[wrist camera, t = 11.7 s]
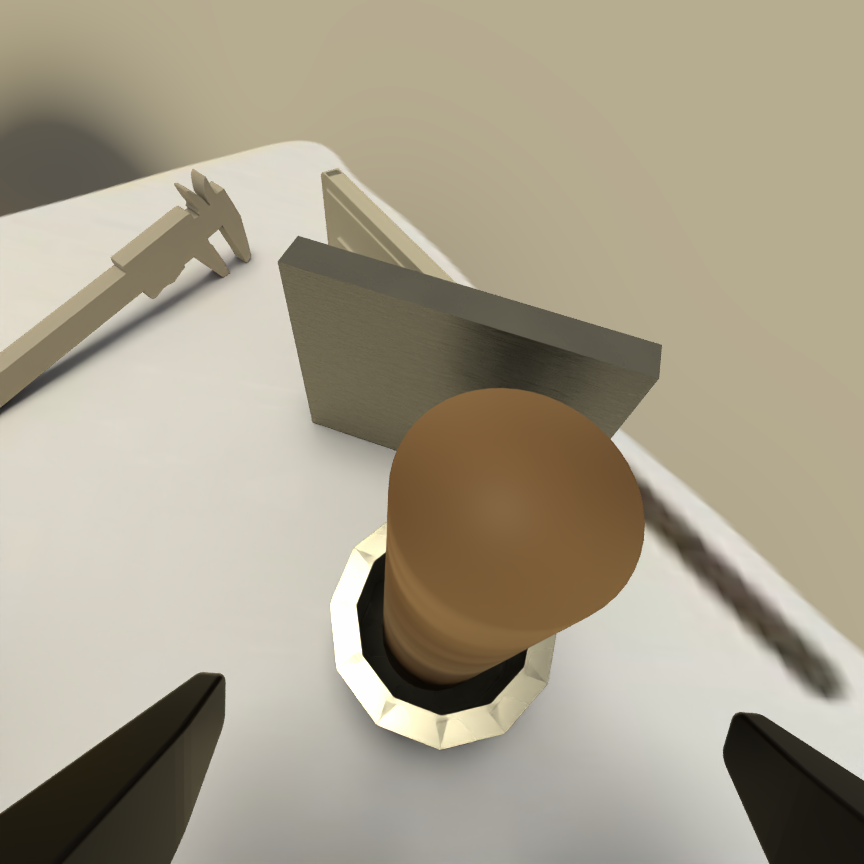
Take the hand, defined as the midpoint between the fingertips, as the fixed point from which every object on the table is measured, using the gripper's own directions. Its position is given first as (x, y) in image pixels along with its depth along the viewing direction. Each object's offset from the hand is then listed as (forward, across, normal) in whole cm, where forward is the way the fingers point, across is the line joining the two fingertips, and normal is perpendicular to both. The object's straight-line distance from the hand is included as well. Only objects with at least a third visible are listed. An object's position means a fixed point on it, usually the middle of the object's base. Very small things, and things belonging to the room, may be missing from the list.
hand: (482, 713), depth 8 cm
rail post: (+9, 0, +5) cm, 10 cm away
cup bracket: (+13, +2, +4) cm, 13 cm away
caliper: (+20, +19, -3) cm, 28 cm away
